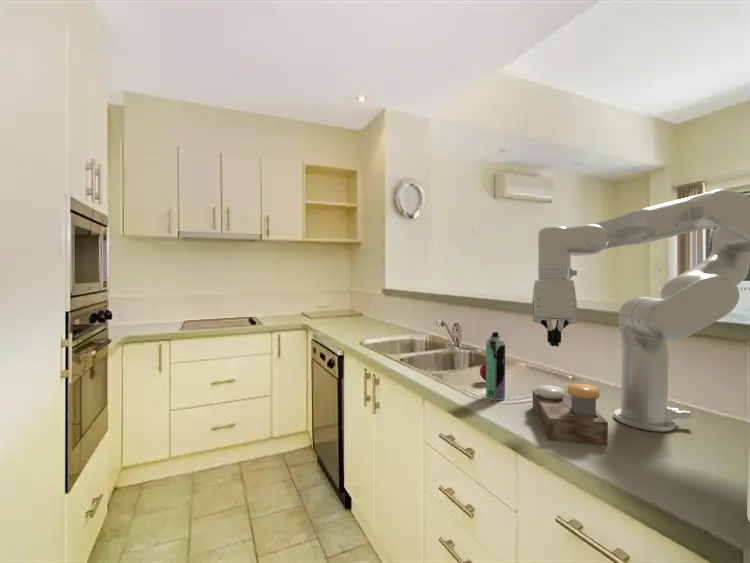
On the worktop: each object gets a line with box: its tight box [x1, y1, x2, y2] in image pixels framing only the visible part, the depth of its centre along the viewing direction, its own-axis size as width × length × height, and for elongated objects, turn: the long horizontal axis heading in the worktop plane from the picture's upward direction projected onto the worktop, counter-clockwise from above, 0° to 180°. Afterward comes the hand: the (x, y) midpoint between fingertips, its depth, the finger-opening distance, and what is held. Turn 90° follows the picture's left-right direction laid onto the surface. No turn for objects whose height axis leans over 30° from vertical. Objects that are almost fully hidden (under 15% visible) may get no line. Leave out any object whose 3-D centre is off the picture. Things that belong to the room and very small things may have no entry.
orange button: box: [567, 382, 600, 418], centre depth 86 cm, size 6×6×7 cm
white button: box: [536, 384, 565, 401], centre depth 97 cm, size 6×6×7 cm
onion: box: [479, 362, 486, 382], centre depth 126 cm, size 6×6×8 cm
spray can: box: [485, 331, 506, 401], centre depth 111 cm, size 6×6×20 cm
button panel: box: [532, 389, 609, 446], centre depth 92 cm, size 12×20×5 cm, turn 166°
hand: (554, 345), depth 96 cm, fingers closed
